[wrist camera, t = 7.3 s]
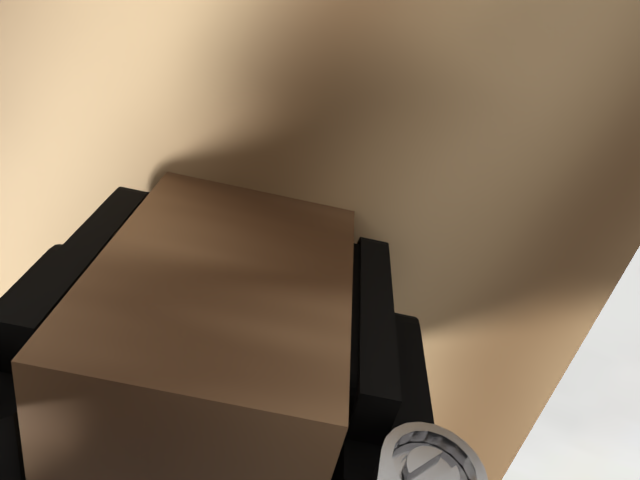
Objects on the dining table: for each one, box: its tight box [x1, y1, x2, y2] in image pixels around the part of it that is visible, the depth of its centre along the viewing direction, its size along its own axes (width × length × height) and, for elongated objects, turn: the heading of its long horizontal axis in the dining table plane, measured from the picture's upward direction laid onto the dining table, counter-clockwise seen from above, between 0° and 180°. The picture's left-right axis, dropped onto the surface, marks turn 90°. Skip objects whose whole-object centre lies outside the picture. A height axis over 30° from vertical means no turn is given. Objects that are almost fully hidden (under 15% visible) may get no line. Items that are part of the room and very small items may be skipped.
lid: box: [0, 0, 640, 480], centre depth 9 cm, size 14×14×6 cm
